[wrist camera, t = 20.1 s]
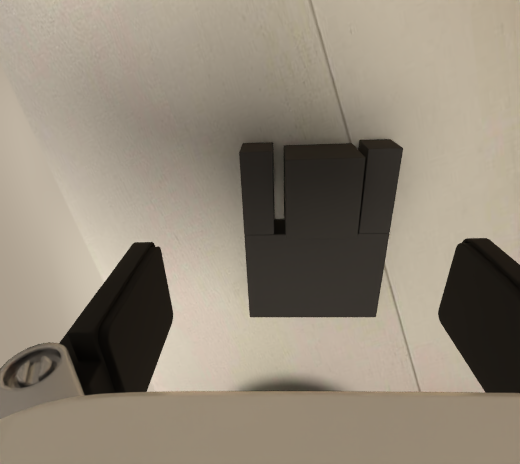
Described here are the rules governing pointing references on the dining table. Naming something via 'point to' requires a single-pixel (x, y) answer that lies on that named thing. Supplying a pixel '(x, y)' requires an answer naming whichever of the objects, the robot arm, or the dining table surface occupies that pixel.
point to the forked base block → (317, 243)
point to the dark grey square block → (322, 190)
